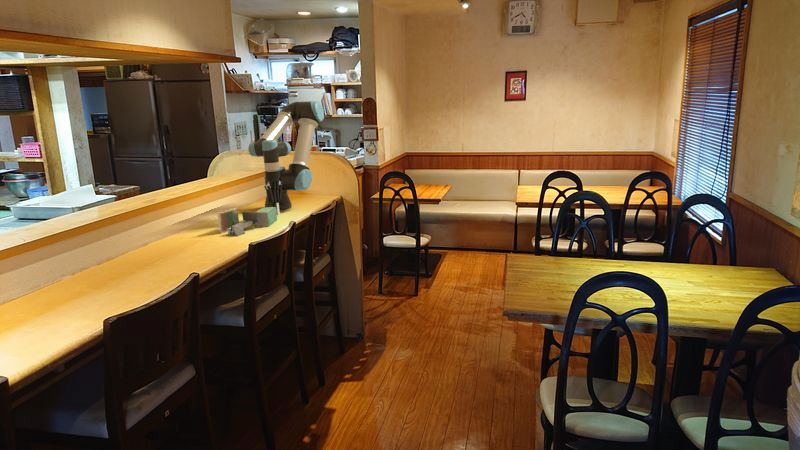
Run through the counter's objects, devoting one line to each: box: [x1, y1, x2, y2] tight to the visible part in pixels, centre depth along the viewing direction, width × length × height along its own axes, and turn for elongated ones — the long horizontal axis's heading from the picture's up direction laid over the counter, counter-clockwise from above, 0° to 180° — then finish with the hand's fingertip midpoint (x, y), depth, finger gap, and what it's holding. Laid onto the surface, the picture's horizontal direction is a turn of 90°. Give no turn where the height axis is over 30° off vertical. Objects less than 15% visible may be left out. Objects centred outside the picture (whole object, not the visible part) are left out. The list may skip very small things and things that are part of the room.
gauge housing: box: [217, 206, 246, 237], centre depth 254 cm, size 15×12×10 cm
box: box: [254, 206, 278, 228], centre depth 267 cm, size 7×14×8 cm, turn 174°
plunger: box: [232, 210, 260, 231], centre depth 254 cm, size 14×12×6 cm
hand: (276, 214), depth 278 cm, fingers closed
